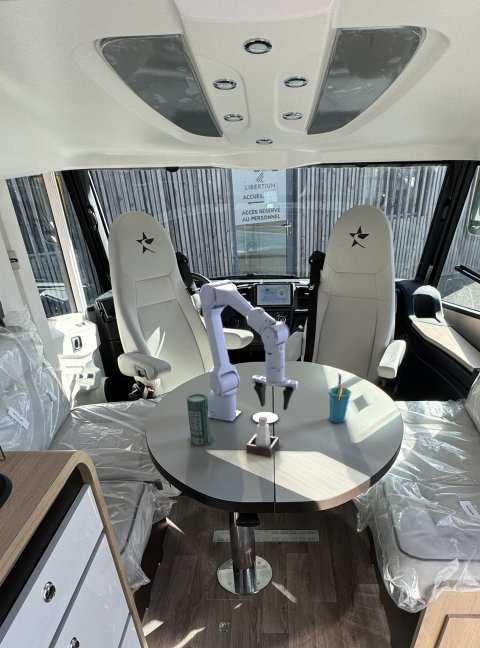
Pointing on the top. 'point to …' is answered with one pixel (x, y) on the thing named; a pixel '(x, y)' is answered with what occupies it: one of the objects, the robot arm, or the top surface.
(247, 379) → the top surface
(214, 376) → the robot arm
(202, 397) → the can
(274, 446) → the box
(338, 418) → the cup
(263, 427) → the salt shaker
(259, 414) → the coaster
